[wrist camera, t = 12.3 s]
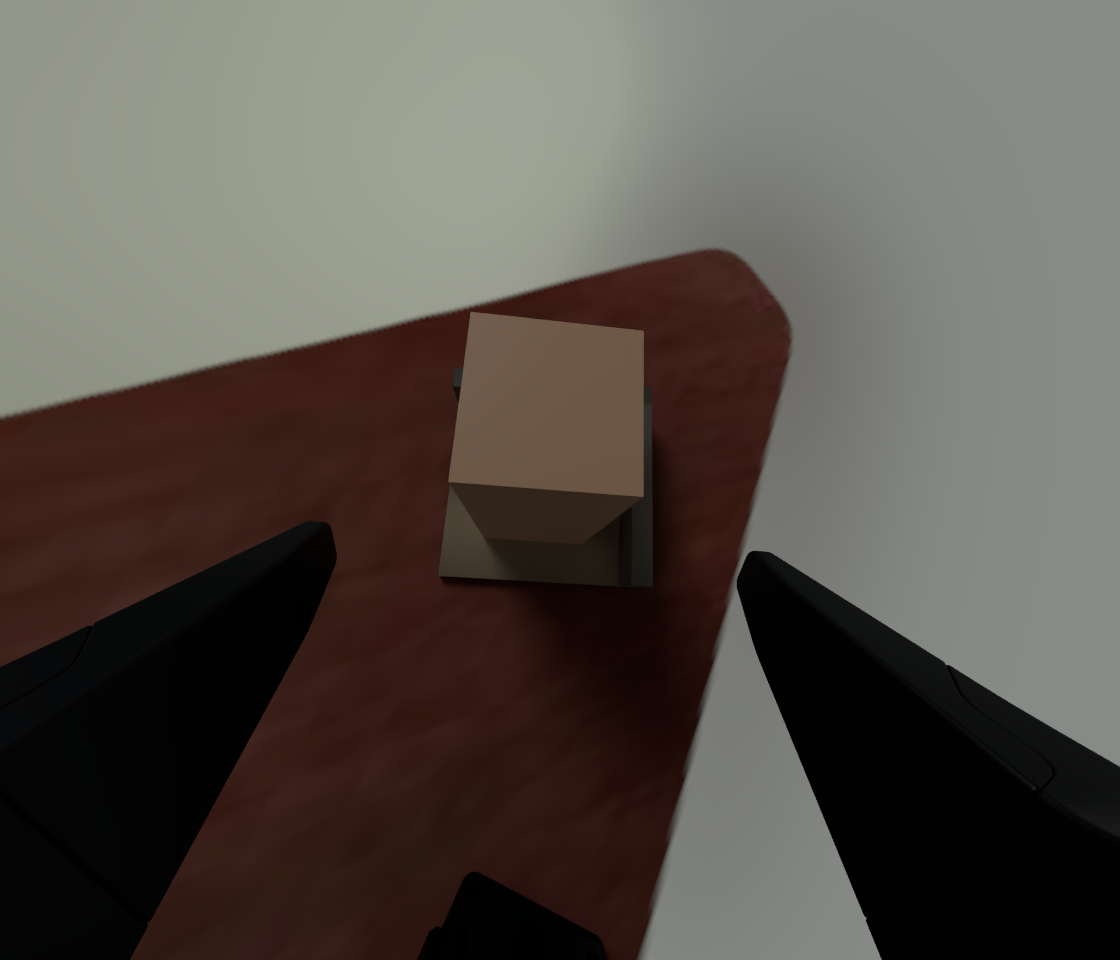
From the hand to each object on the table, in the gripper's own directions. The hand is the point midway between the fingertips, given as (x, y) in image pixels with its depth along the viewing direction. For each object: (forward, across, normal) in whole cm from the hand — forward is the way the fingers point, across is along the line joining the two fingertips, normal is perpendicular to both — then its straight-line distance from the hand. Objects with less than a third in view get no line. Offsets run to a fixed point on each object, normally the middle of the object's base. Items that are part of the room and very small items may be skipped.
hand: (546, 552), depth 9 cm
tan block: (+12, 0, +6) cm, 13 cm away
